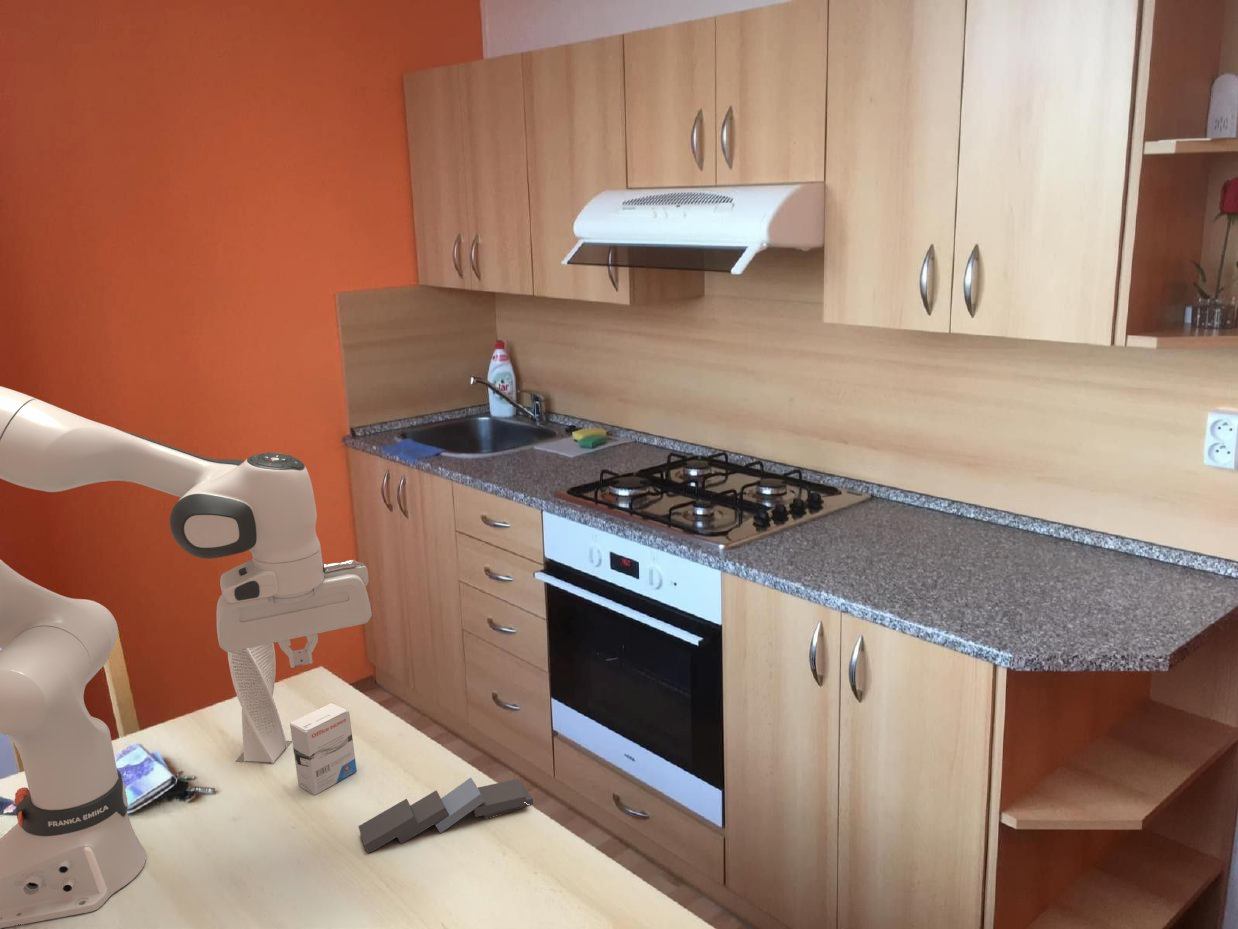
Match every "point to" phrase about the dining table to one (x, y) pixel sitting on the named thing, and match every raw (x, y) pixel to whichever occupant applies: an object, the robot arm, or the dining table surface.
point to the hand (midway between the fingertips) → (301, 664)
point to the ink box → (323, 748)
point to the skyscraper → (258, 703)
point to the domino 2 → (425, 815)
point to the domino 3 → (460, 803)
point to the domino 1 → (387, 825)
